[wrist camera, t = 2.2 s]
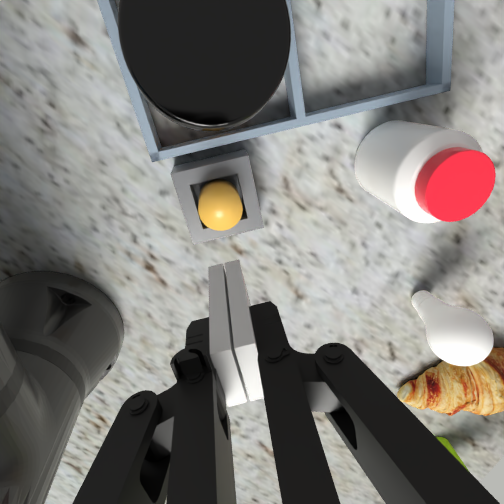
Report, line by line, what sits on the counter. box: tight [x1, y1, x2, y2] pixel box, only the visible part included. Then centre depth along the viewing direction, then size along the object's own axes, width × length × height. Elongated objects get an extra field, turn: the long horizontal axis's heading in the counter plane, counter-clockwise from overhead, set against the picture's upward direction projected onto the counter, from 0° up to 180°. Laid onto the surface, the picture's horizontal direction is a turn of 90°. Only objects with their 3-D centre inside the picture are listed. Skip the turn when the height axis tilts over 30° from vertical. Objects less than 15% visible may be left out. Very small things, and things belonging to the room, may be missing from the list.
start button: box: [198, 179, 243, 231], centre depth 31 cm, size 4×4×3 cm
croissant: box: [397, 347, 504, 416], centre depth 48 cm, size 21×10×8 cm, turn 105°
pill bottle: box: [354, 120, 495, 223], centre depth 31 cm, size 8×8×11 cm
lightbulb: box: [411, 290, 494, 366], centre depth 39 cm, size 6×6×11 cm
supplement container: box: [118, 0, 291, 132], centre depth 24 cm, size 10×10×12 cm
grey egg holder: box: [171, 149, 264, 245], centre depth 33 cm, size 7×7×4 cm
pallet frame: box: [97, 0, 454, 162], centre depth 29 cm, size 27×14×2 cm, turn 102°
